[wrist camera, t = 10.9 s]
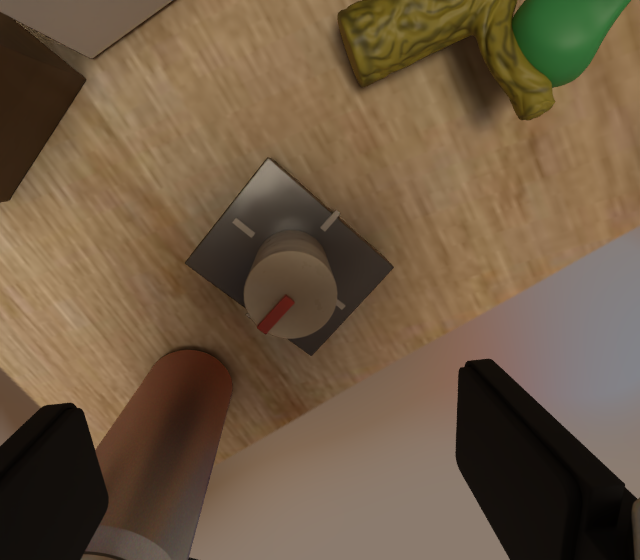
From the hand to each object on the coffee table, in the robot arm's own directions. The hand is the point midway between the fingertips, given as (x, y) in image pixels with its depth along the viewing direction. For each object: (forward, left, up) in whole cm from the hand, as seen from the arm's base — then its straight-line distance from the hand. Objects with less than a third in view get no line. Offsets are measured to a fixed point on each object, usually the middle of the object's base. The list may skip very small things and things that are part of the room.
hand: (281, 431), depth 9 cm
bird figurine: (+1, -18, -17) cm, 25 cm away
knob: (0, 0, -14) cm, 14 cm away
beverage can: (0, +12, -17) cm, 21 cm away
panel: (0, 0, -17) cm, 17 cm away
